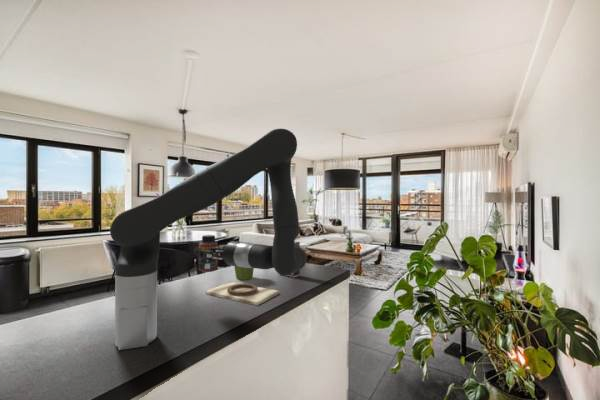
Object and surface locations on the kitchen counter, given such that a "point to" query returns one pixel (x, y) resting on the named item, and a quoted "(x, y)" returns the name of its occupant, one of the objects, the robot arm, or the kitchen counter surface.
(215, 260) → the supplement bottle
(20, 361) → the kitchen counter surface
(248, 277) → the plant pot
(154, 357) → the kitchen counter surface
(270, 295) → the stool seat board
